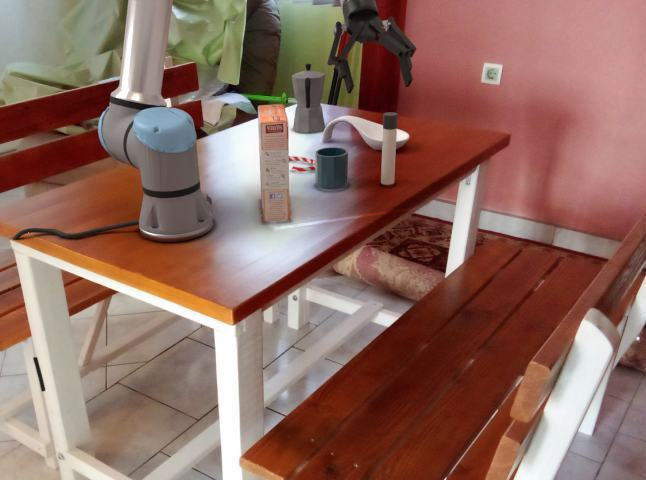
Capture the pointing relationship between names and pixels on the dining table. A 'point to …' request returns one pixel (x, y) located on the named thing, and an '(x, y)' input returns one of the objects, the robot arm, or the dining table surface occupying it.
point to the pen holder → (331, 168)
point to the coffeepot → (308, 101)
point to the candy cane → (293, 158)
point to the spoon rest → (366, 132)
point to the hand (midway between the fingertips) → (380, 86)
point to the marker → (389, 147)
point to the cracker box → (274, 162)
